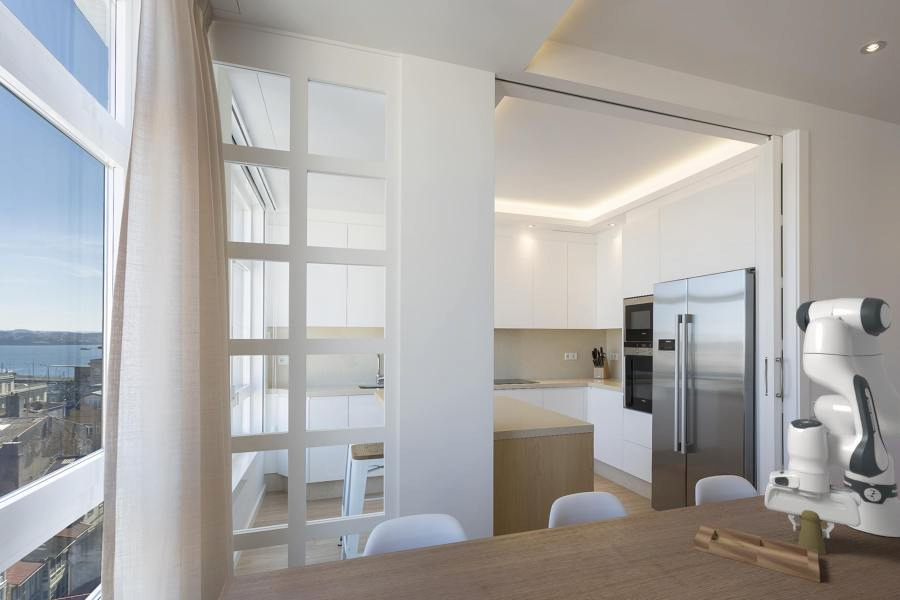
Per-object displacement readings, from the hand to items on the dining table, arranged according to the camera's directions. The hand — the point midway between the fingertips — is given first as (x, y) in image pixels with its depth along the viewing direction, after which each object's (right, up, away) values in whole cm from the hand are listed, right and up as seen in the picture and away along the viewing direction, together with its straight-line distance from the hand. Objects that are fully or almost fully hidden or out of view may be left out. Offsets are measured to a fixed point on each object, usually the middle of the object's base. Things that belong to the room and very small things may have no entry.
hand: (811, 533), depth 121 cm
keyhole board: (-17, -4, -3) cm, 18 cm away
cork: (0, -4, 0) cm, 4 cm away
